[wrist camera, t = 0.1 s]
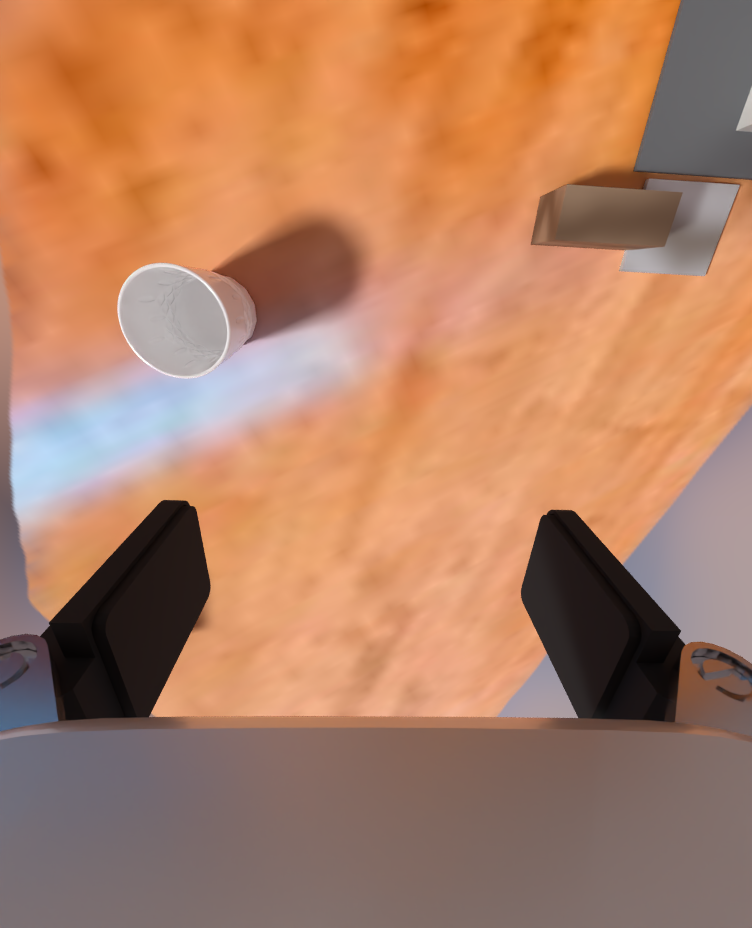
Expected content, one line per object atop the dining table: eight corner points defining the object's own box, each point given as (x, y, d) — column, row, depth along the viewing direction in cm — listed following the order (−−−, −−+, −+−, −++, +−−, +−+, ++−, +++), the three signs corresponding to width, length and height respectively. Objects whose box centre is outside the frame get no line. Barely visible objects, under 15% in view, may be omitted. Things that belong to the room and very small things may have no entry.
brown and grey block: (544, 172, 32) (573, 156, 28) (734, 186, 33) (792, 171, 29) (526, 265, 36) (549, 264, 31) (700, 276, 36) (748, 275, 32)
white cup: (245, 256, 35) (203, 249, 26) (274, 344, 38) (246, 365, 29) (164, 278, 35) (95, 278, 26) (200, 362, 39) (150, 388, 30)
